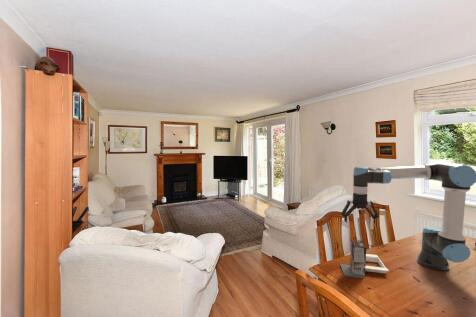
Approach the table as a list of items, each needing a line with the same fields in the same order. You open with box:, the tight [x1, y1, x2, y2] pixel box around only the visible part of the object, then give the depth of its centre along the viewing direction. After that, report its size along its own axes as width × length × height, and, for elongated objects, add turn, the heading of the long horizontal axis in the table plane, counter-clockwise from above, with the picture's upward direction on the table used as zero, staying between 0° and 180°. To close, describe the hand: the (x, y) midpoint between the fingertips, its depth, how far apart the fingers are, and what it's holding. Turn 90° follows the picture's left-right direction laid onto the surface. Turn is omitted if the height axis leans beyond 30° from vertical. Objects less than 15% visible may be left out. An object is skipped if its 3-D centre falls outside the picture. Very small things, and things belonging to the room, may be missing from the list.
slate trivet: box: [339, 263, 365, 279], centre depth 137 cm, size 10×12×1 cm
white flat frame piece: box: [365, 253, 390, 274], centre depth 143 cm, size 13×19×3 cm
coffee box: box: [349, 240, 367, 276], centre depth 136 cm, size 9×6×16 cm
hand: (359, 228), depth 139 cm, fingers open, 13 cm apart
